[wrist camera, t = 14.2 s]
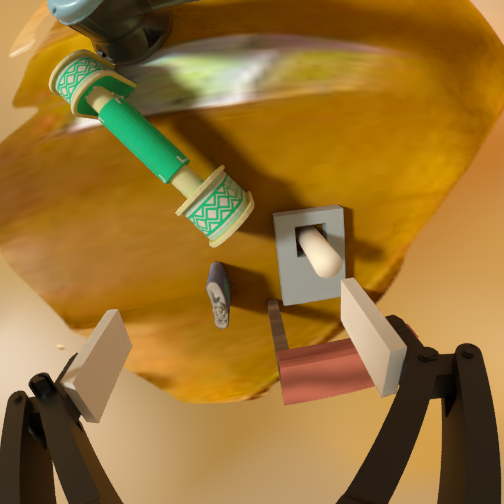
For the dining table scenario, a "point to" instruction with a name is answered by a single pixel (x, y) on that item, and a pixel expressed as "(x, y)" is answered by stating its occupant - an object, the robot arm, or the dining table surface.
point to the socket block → (296, 263)
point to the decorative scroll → (150, 144)
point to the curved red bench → (316, 366)
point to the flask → (219, 294)
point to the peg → (319, 252)
